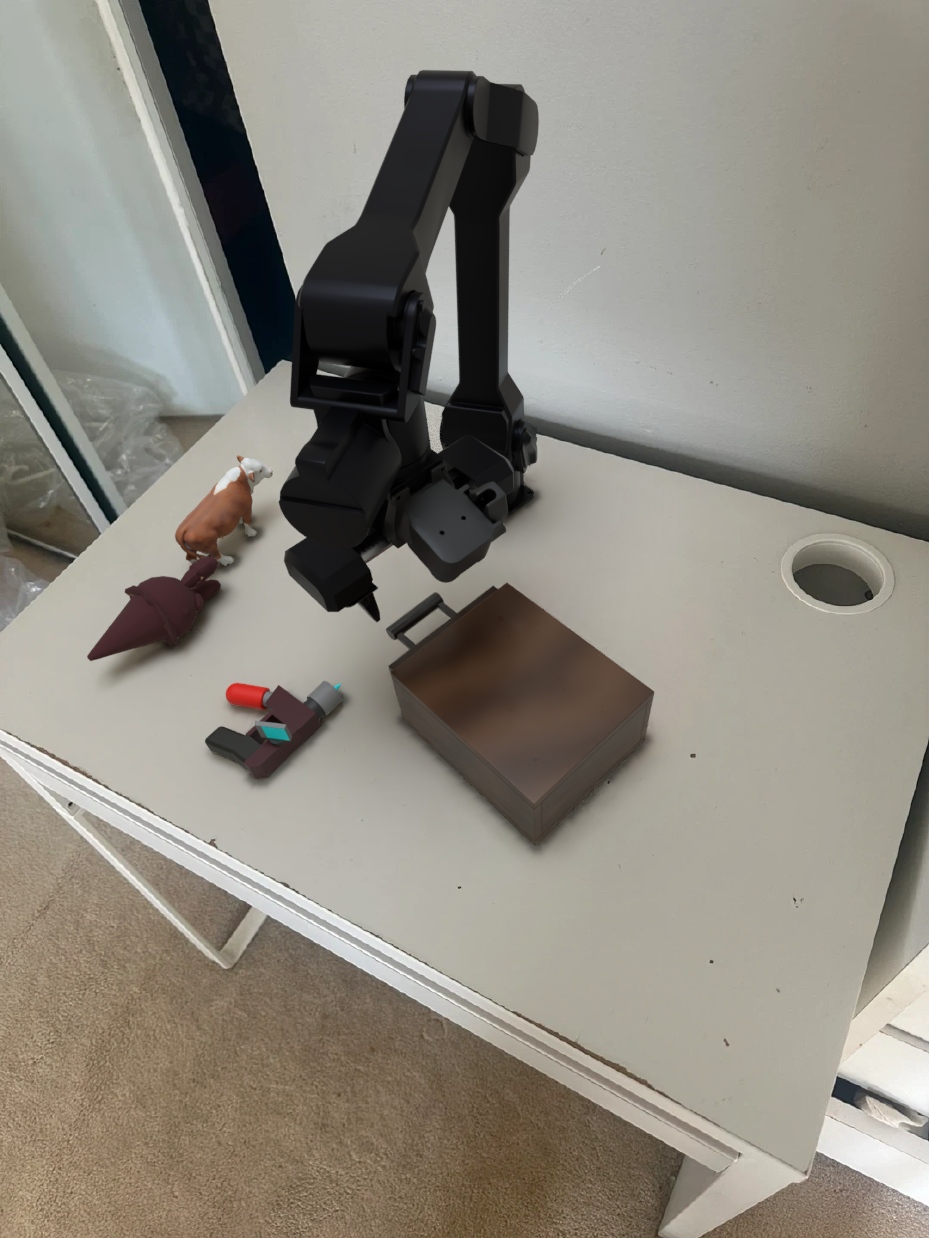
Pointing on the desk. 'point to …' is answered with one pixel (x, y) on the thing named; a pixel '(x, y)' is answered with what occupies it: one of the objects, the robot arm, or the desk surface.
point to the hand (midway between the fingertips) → (417, 588)
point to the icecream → (159, 610)
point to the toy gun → (272, 725)
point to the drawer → (423, 611)
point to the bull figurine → (222, 511)
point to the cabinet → (523, 708)
